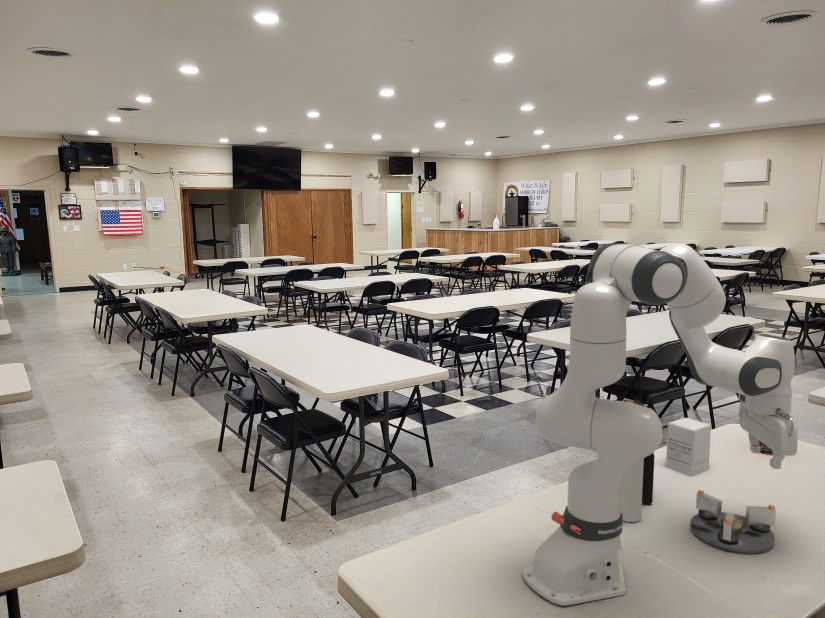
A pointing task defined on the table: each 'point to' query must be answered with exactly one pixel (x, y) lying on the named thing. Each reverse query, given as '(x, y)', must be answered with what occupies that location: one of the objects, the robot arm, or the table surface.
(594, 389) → the robot arm
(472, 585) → the table surface
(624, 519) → the paper towel roll
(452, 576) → the table surface
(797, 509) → the table surface
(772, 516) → the grey lever knob
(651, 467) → the voltmeter
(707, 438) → the supplement box
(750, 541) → the plate
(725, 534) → the knob near
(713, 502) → the knob left
